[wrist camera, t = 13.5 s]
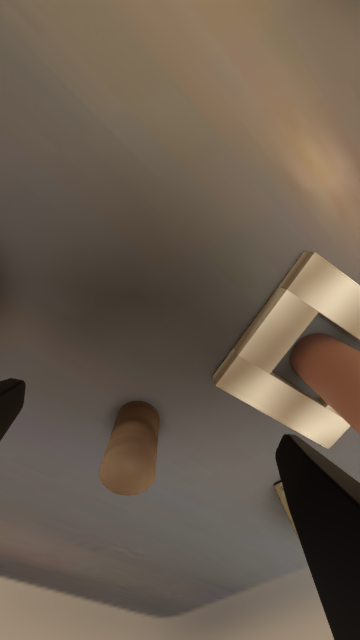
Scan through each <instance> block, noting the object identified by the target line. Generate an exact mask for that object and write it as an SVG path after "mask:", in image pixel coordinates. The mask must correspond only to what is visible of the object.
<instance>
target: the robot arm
mask: <svg viewBox="0 0 360 640" xmlns="http://www.w3.org/2000/svg"><path fill="white" fill-rule="evenodd" d="M24 395H25V382H24V381H23V380H18V379H13V378H10V379H7V380H3V381H0V441H1V439H2V438H3V436H4V435H5V433H6V432H7V430H8V429H9V427H10V426H11V424H12V423H13V421H14V420H15V418H16V417H17V415H18V414H19V412H20V411H21V409H22V407H23V404H24ZM276 462H277V466H278V470H279V474H280V478H281V482H282V486H283V490H284V493H285V497H286V501H287V504H288V508H289V511H290V514H291V517H292V520H293V522H294V525H295V528H296V531H297V534H298V537H299V540H300V543H301V545H302V548H303V551H304V554H305V557H306V560H307V563H308V565H309V568H310V571H311V574H312V577H313V580H314V583H315V585H316V588H317V591H318V594H319V597H320V600H321V603H322V606H323V608H324V611H325V614H326V617H327V620H328V623H329V625H330V628H331V631H332V634H333V637H334V640H360V483H359V482H357V481H356V480H355V479H353V478H352V477H351V476H349V475H348V474H347V473H345V472H344V471H343V470H341V469H340V468H339V467H338V466H336V465H335V464H334V463H332V462H331V461H330V460H328V459H327V458H326V457H324V456H323V455H322V454H320V453H319V452H318V451H316V450H315V449H314V448H312V447H311V446H310V445H308V444H307V443H306V442H304V441H303V440H302V439H300V438H299V437H298V436H296V435H291V434H284V435H283V437H282V439H281V441H280V444H279V446H278V448H277V450H276Z"/></svg>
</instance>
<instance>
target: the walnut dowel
mask: <svg viewBox="0 0 360 640" xmlns="http://www.w3.org/2000/svg"><path fill="white" fill-rule="evenodd" d="M158 430H159V415H158V412H157V411H156V409H155V408H154V407H153V406H152V405H150V404H148V403H146V402H142V401H134V402H130V403H127V404H126V405H124V406H123V407H122V408H121V409H120V411H119V412H118V415H117V418H116V421H115V424H114V427H113V430H112V433H111V437H110V440H109V443H108V446H107V449H106V452H105V455H104V458H103V461H102V464H101V467H100V471H99V475H100V479H101V481H102V483H103V485H104V486H105V487H106V488H107V489H109V490H110V491H112V492H114V493H116V494H120V495H136V494H139V493H142V492H144V491H145V490H147V489H148V488H149V487H150V486H151V485H152V483H153V481H154V479H155V470H156V457H157V443H158Z"/></svg>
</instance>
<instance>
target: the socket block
mask: <svg viewBox="0 0 360 640" xmlns="http://www.w3.org/2000/svg"><path fill="white" fill-rule="evenodd" d="M313 333H324V334H327V335H329V336H331V337H333V338H335V339H337V340H339V341H340V342H342V343H344V344H346V345H348V346H350V347H352V348H354V349H356V350H358V351H359V352H360V285H359V284H357V283H356V282H355V281H353V280H352V279H351V278H349V277H348V276H347V275H345V274H344V273H343V272H341V271H340V270H338V269H337V268H336V267H334V266H333V265H332V264H330V263H329V262H328V261H326V260H325V259H324V258H322V257H321V256H320V255H318V254H317V253H316V252H303V254H302V255H301V256H300V258H299V259H298V261H297V262H296V263H295V265H294V266H293V267H292V269H291V270H290V271H289V273H288V274H287V276H286V277H285V278H284V280H283V281H282V282H281V284H280V285H279V286H278V288H277V289H276V291H275V292H274V293H273V295H272V296H271V297H270V299H269V300H268V302H267V303H266V304H265V306H264V307H263V308H262V310H261V311H260V312H259V314H258V315H257V317H256V318H255V319H254V321H253V322H252V323H251V325H250V326H249V327H248V329H247V330H246V332H245V333H244V334H243V336H242V337H241V338H240V340H239V341H238V342H237V344H236V345H235V347H234V348H233V349H232V351H231V352H230V353H229V355H228V356H227V357H226V359H225V360H224V362H223V363H222V364H221V366H220V367H219V368H218V370H217V371H216V372H215V374H214V375H213V379H214V382H215V386H217V387H219V388H221V389H222V390H224V391H226V392H228V393H229V394H231V395H233V396H235V397H236V398H238V399H240V400H242V401H244V402H245V403H247V404H249V405H251V406H252V407H254V408H256V409H258V410H260V411H261V412H263V413H265V414H267V415H268V416H270V417H272V418H274V419H276V420H277V421H279V422H281V423H283V424H284V425H286V426H288V427H290V428H291V429H293V430H295V431H297V432H299V433H300V434H302V435H304V436H306V437H307V438H309V439H311V440H313V441H315V442H316V443H318V444H320V445H322V446H323V447H325V448H327V449H329V448H330V447H331V446H332V445H333V444H334V443H335V442H336V441H337V440H338V439H339V438H340V436H341V435H342V434H343V433H344V432H345V431H346V430H347V429H348V428H349V427H350V425H349V424H348V423H347V422H346V421H345V420H344V419H343V418H342V417H341V416H340V415H339V414H338V413H337V412H336V411H335V410H334V409H333V408H332V407H331V406H329V405H328V404H327V403H326V402H325V401H324V400H323V399H322V398H321V397H320V396H319V395H318V394H317V393H316V392H315V391H314V390H313V389H312V388H311V387H310V386H309V385H308V384H307V383H306V382H304V381H303V380H302V379H301V378H300V377H299V376H298V375H297V374H296V373H295V372H294V371H293V369H292V367H291V364H290V355H291V352H292V349H293V347H294V346H295V344H296V343H297V342H298V341H299V340H300V339H302V338H303V337H305V336H307V335H309V334H313Z"/></svg>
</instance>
